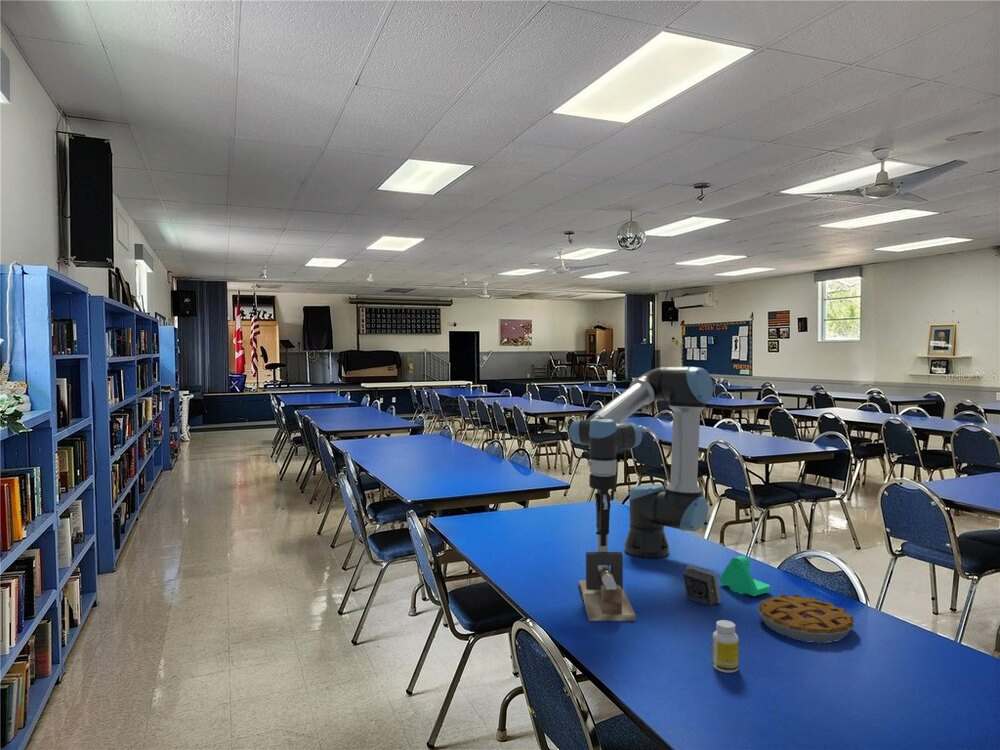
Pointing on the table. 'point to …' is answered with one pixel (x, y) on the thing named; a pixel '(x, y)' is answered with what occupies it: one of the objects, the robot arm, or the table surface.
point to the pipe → (607, 577)
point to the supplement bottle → (725, 647)
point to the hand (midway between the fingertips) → (602, 555)
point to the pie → (805, 618)
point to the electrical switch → (701, 585)
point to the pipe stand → (606, 604)
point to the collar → (603, 559)
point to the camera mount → (742, 578)
